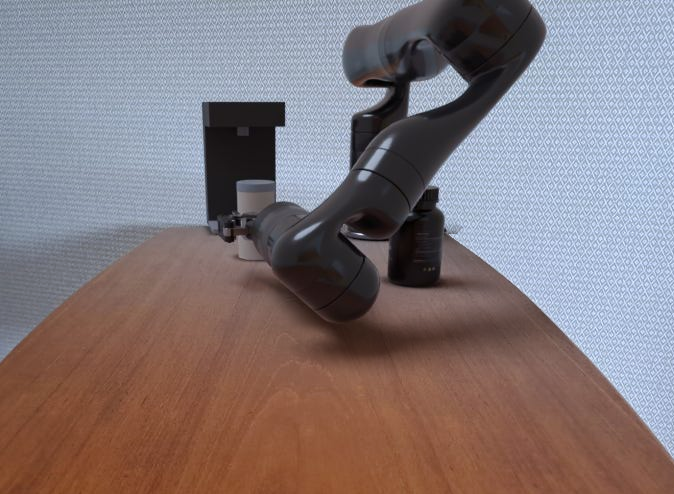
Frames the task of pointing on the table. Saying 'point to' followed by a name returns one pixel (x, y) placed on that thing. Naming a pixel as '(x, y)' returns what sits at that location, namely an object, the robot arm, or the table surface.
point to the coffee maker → (237, 150)
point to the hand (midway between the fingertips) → (265, 217)
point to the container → (253, 209)
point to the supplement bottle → (418, 244)
